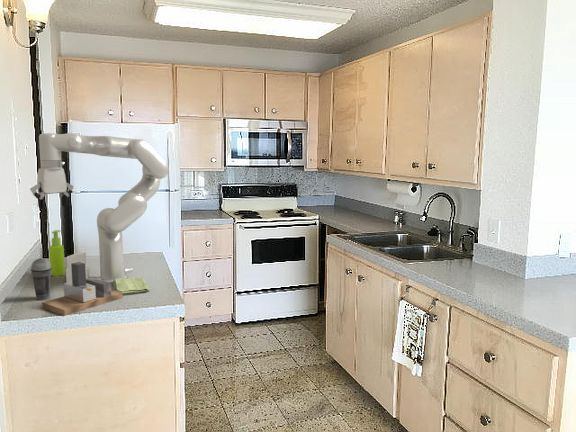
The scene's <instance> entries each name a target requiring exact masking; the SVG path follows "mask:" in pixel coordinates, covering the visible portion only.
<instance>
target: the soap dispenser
mask: <svg viewBox="0 0 576 432" xmlns="http://www.w3.org/2000/svg"><path fill="white" fill-rule="evenodd" d="M59 232H62V230H59V229H58V230H57V229H55V230H53V231H52V232H51V233H52V234H53V238H51V245H50V246H49V247H48V249H49V262H50V264H51V267H52V269H51V277H61V276H65V275H66V267H65V266H66V265H65V246H64V245H63V244H61V238H60V237H59Z"/></svg>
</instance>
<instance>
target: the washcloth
mask: <svg viewBox="0 0 576 432" xmlns="http://www.w3.org/2000/svg"><path fill="white" fill-rule="evenodd" d="M112 286H113V287H114V289H115V290H114V291H118V292H122V293H123V296H126V295H134V294H139V293H146V292H150V287H149V286H148V283H146V281H145V279H144V278H143V277H139V276H138V277H130V278H128V279H115V280H114V282H113V284H112Z"/></svg>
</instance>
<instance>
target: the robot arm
mask: <svg viewBox="0 0 576 432" xmlns="http://www.w3.org/2000/svg"><path fill="white" fill-rule="evenodd" d="M38 142H39V143H38V144H39V145H38V147H39V159H40V168H38V169H37V170H38V171H37V178H36V184H35V185H33V186H32V187H30V188H29V190H30V192H31V193H32V196H34V197H35V198H36V199H37V206H38V209H39V210H45V209H46V204H45V201H46V200H45V199H44V198H45V196H47V195H51V194H61V206H62V207H64V208H67V207H69V197H70V195H71V194H72V191H73V189H74V185H73V184H70V183H69V182H67V178H66V173H65V170H64V168H63V166H64V165H65V162H64V161H62V160H63V159H62V152H66V153H76V154H86V155H87V154H89V155H96V156H100V157H108V158H120V159H121V158H123V159H133V160H134V159H135V160H137V161H138V162H139V163H140V164H141V165H142V169H141V170H142V177H141V179H140V181H139V182H138V183H136V184H135V185H134V186H133V187H132V188H131V189H129V190H128V191H126V193H124V194H123V195H122V196H120V198H119V199H118V203H117V206H116V207H115V208H111V207H106V208H104V209H101V211H99V213H98V214H97V216H96V226H97V233H98V245H99V246H98V249H99V252H98V253H99V267H100V269H99V270H100V276H98V277H97V278H96V279H99V280H103V281H107V282H110V283H111V285H113V282H114V280H115V279H129V277H128V275H127V274H129V273H132V272H133V271H134V269H133V268H132V267H129V268H127V267H124V246H123V242H124V241H123V233H122V232H124V231H125V230H127V229H128V228H129V227H130V226H131V225H133V223H134V222H136V221H137V220H139V219H140V218H141V217H142V216H143V215H144V214H145V212H146V211H147V208H148V202H149V200H150V199H151V198H153V196H155V195H156V194H157V192H158V190H159V188H160V185H161V180H162V179H164V178H166V177H167V176H168V174H169V172H170V169H169V165H168V163H167V161H166V160H165V159H164V158H163V157H162V156H161V155H160V154H159V153H158V152H157V150H156V149H155V148H154V147H153V146H152V145H151V144H150V143H149V142H148V141H146V140H145V139H141V138H140V139H137V138H126V137H117V136H109V135H96V136H95V135H83V134H76V133H71V132H69V133H60V134H59V133H50V132H49V133H47V132H46V133H45V132H44V133H41V134H39V136H38Z"/></svg>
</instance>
